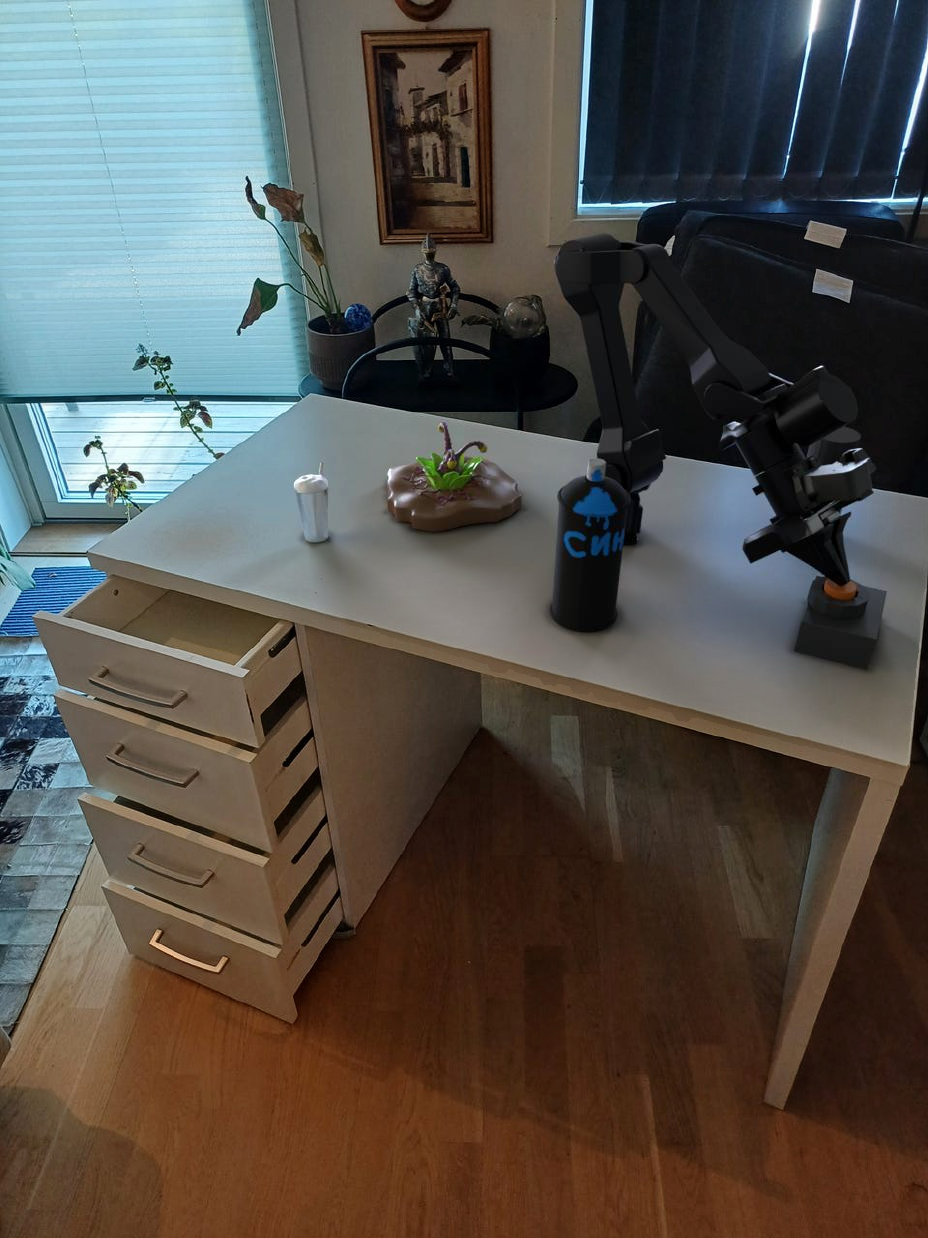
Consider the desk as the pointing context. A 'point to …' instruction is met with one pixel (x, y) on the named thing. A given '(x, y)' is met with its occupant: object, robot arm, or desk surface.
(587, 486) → the aerosol can
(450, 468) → the plant
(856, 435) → the deodorant
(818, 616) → the push button box
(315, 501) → the milkshake
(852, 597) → the orange push button
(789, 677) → the desk surface
